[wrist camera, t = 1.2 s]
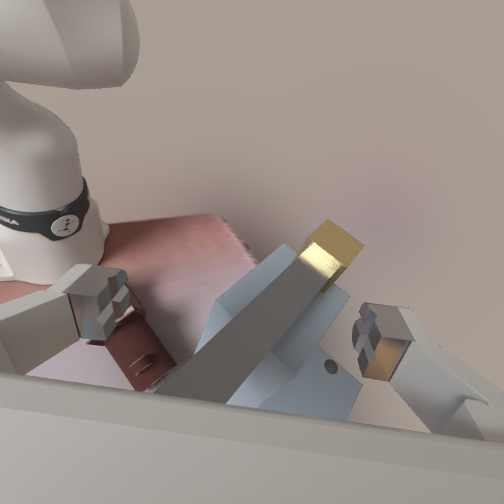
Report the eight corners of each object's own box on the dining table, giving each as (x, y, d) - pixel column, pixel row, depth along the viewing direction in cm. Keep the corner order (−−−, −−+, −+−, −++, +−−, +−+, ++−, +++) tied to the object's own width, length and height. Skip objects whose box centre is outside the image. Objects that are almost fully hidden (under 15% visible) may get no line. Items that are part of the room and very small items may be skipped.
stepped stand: (178, 393, 41) (215, 300, 22) (225, 346, 47) (284, 243, 29) (260, 483, 37) (387, 461, 18) (299, 418, 43) (421, 353, 25)
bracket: (117, 270, 47) (93, 251, 37) (181, 360, 45) (174, 366, 35) (80, 294, 45) (44, 281, 35) (145, 390, 43) (126, 405, 33)
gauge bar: (143, 402, 16) (145, 380, 14) (309, 246, 29) (328, 218, 27) (191, 458, 15) (204, 447, 13) (341, 271, 28) (364, 245, 26)
